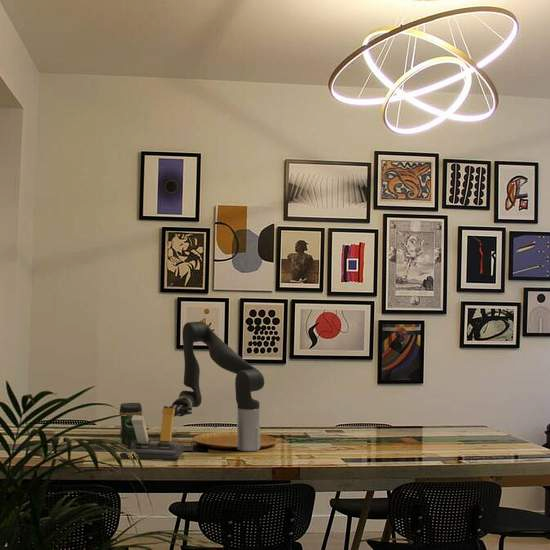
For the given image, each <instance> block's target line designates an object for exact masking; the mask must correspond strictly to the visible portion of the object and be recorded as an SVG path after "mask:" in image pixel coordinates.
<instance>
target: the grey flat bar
mask: <svg viewBox="0 0 550 550" xmlns="http://www.w3.org/2000/svg"><path fill="white" fill-rule="evenodd" d="M129 450H131V451H134V452H135V453H136V454H137V455H138V457H139V458H141V459H140V460H152V459H162V460H161V461H179V459H180V456H178V455H175V454H176V451H169V450H144V449H129ZM132 456H133V458H135V459H134V460H137V459H136V457H135V456H134V454H133V455H132ZM120 457H121V459H128V460H129V459H130V458H129V457H128V455H127V454H126V453H124V452H121V453H119V458H120ZM130 460H131V459H130Z"/></svg>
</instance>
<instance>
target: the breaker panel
mask: <svg viewBox="0 0 550 550" xmlns="http://www.w3.org/2000/svg"><path fill="white" fill-rule="evenodd" d="M159 442H160V440H150V442H149V443H148V446H138V442H137V440H135V441H133V442H131V447H130V448H129V449H144V450H169V451H176V454H175V455H178V456H179V457H180V456H181V455H182V454H183V453H184V449H185V448H184V447H185V446H184V444H179V442H178V441H171V443H170V444H169V447H159Z"/></svg>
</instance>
